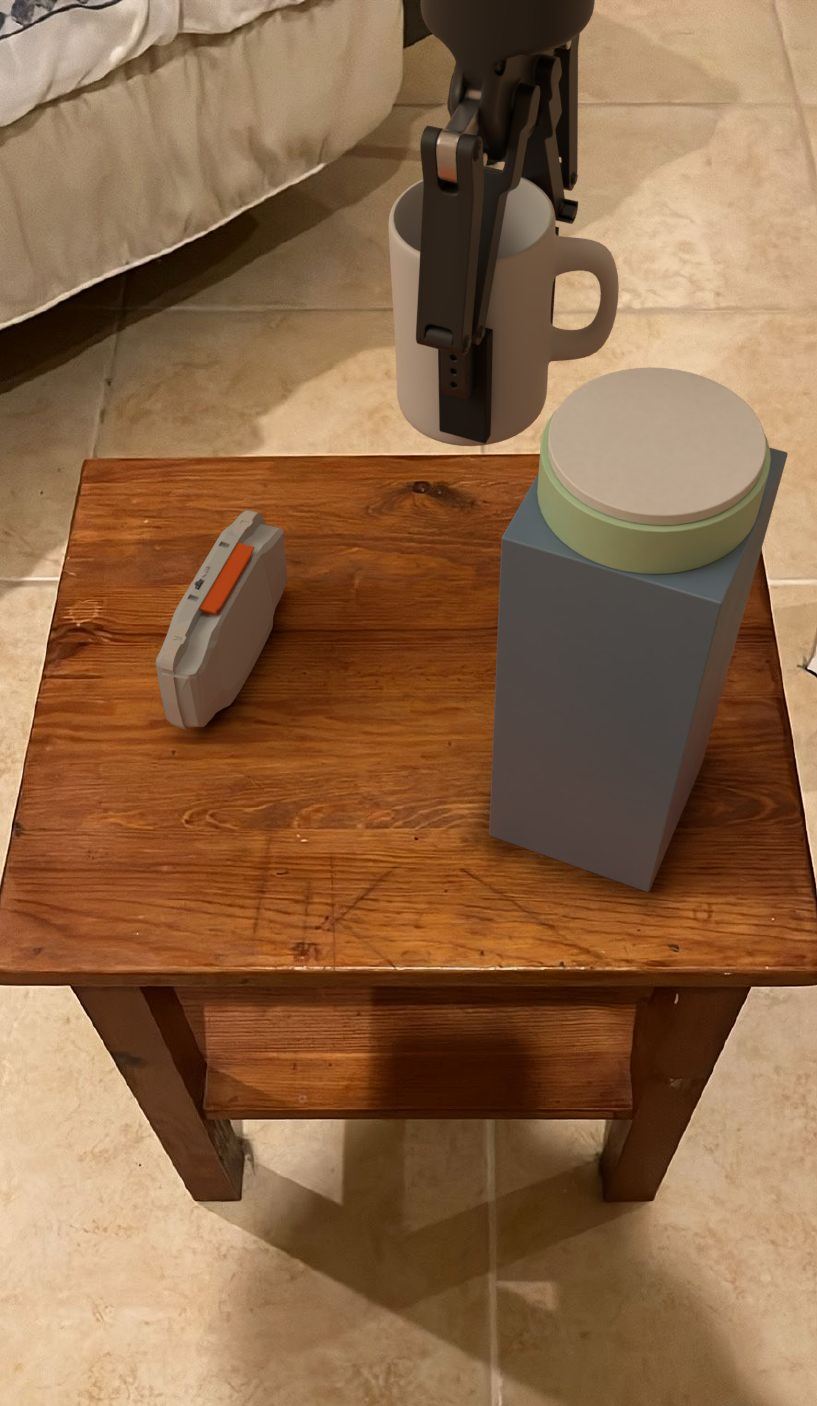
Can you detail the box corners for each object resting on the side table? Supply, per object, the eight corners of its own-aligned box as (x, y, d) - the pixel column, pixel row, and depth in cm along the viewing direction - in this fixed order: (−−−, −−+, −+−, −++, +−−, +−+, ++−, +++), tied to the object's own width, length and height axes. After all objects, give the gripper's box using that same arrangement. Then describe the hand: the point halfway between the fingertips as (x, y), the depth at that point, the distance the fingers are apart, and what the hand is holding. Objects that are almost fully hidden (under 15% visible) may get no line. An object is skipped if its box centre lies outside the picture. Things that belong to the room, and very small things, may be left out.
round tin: (785, 452, 59) (801, 395, 57) (720, 601, 55) (734, 547, 52) (582, 397, 62) (588, 340, 59) (503, 536, 57) (506, 481, 54)
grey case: (259, 579, 89) (242, 488, 82) (298, 589, 88) (285, 499, 81) (168, 741, 82) (141, 656, 75) (210, 753, 81) (188, 669, 75)
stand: (702, 763, 80) (788, 451, 59) (648, 893, 75) (722, 603, 55) (549, 713, 82) (581, 395, 62) (488, 835, 78) (500, 537, 57)
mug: (395, 449, 73) (383, 268, 63) (399, 350, 77) (389, 167, 68) (612, 445, 72) (632, 262, 63) (603, 346, 77) (622, 161, 67)
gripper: (520, -202, 60) (506, 258, 79) (312, 24, 50) (354, 486, 69) (679, -179, 58) (624, 286, 77) (495, 60, 48) (486, 525, 67)
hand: (497, 381), depth 73 cm, fingers closed on mug, 8 cm apart
